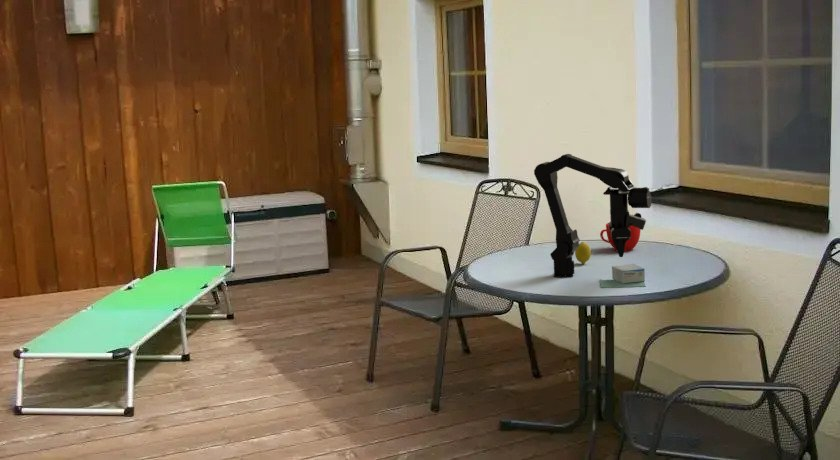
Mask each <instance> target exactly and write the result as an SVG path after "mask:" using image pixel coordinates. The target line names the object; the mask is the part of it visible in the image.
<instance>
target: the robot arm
mask: <svg viewBox="0 0 840 460" xmlns="http://www.w3.org/2000/svg"><path fill="white" fill-rule="evenodd" d="M565 168H568V169H572V170H574V171H577V172H579V173H581V174H582V173H583V174H585V175H588V176H590V177H594V178H596V179H598V180H600V181H601V182H602V183H604V184H605V185H606V186H608V187H607V188H606V190H605V191H604V192H603V193H602V194H603V195H604V196H607V195H609V214H610V215H609V216H610V221H609V222H608V223H609V231H610V234H611V238H612V240H613V243H614V245H615V248H616V250H617V251H616V250H615V251H616V252H617V255H618V257H619V258H623V257H624V253H625V251H624V249H625V244H626V241H627V240H629V239H630V238H631V230H630V229H629V228H628V227H630V225H631V226H634V227H637V228H639V229H641V230H642V231H643V230H644V228H645V225H646V222H647V220H646V219H645V218H644V217H642V214H641V213H639V212H636V213H634V214H630V210H629V207H631V208H632V209H650V208H651V206H652V195H651V191H650V187H649V186H644V187H636V186H635V184H634V183H633V182H632V181H631V179H630V177H629V173H628V171H626V170H625V169H622V168H619V167H618V168H617V167H609V166H604V165H600V164H596V163H595V162H591V161H588V160H586V159H582V158H580V157H577V156H575V155H573V154H572V153H571V154H570V153H565V154H562V155H561V156H560V157H558V158H556V159H554V160H552V161H545V162H543V163H540V164H539V163H538V164H537V165H536V166H535V168H534V170H533V174H534V176H535V179H536V181H537V182H538V183H537V184H538V185H539V186H540V188H542V189H543V192H544V194H545V198H546V201H547V204H548V208H549V210H550V211H549V212H550V214H551V218H552V220H553V224H554V227H555V231H556V232H555V243H556V248H555V249H553V251H552V252H551V253H550V258H551V260H553V278H562V277H563V278H564V277H565V278H569V277H574V274H575V261H574V260H573V256H574V253H575V251H576V250H577V248H578V246H579V244H580V240H581V239H580V237H579V235H578V230H577V229H572V228H571V227H570V224H569V222H568V218H567V215H566V212H565V209H564V206H563V202H562V199H561V195H560V192H559V189H558V179H559V177H558V172H559V171H561V170H563V169H565ZM628 206H629V207H628ZM611 228H612V230H611Z"/></svg>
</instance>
